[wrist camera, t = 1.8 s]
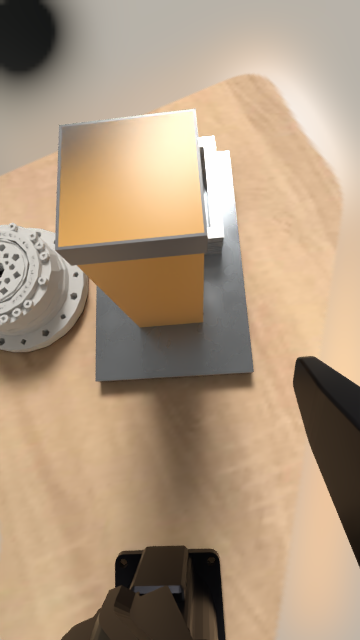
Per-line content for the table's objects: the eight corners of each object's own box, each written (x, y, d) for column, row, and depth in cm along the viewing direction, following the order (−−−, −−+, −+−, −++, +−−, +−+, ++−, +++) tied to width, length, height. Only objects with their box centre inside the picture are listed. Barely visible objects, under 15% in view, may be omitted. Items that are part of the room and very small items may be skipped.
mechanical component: (1, 378, 23) (112, 307, 23) (-45, 375, 18) (92, 289, 19) (-47, 277, 25) (55, 215, 26) (-98, 254, 21) (26, 180, 21)
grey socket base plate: (251, 372, 21) (260, 369, 18) (100, 381, 22) (81, 380, 18) (228, 159, 25) (232, 123, 22) (102, 172, 26) (86, 139, 23)
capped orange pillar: (204, 323, 21) (208, 235, 9) (138, 328, 21) (54, 250, 9) (199, 261, 22) (195, 108, 10) (136, 267, 23) (59, 125, 10)
